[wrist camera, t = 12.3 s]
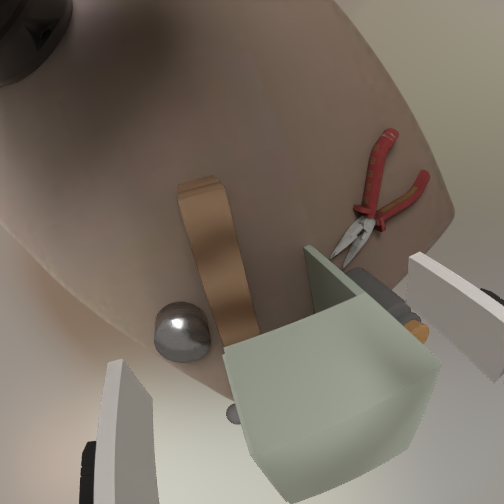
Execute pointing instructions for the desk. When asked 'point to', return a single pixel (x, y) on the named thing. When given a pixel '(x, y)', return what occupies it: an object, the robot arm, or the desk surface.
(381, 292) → the bottle
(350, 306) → the green bedside cabinet
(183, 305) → the silver metal dome
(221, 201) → the brown wooden block
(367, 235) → the pliers
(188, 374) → the desk surface
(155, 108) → the desk surface
